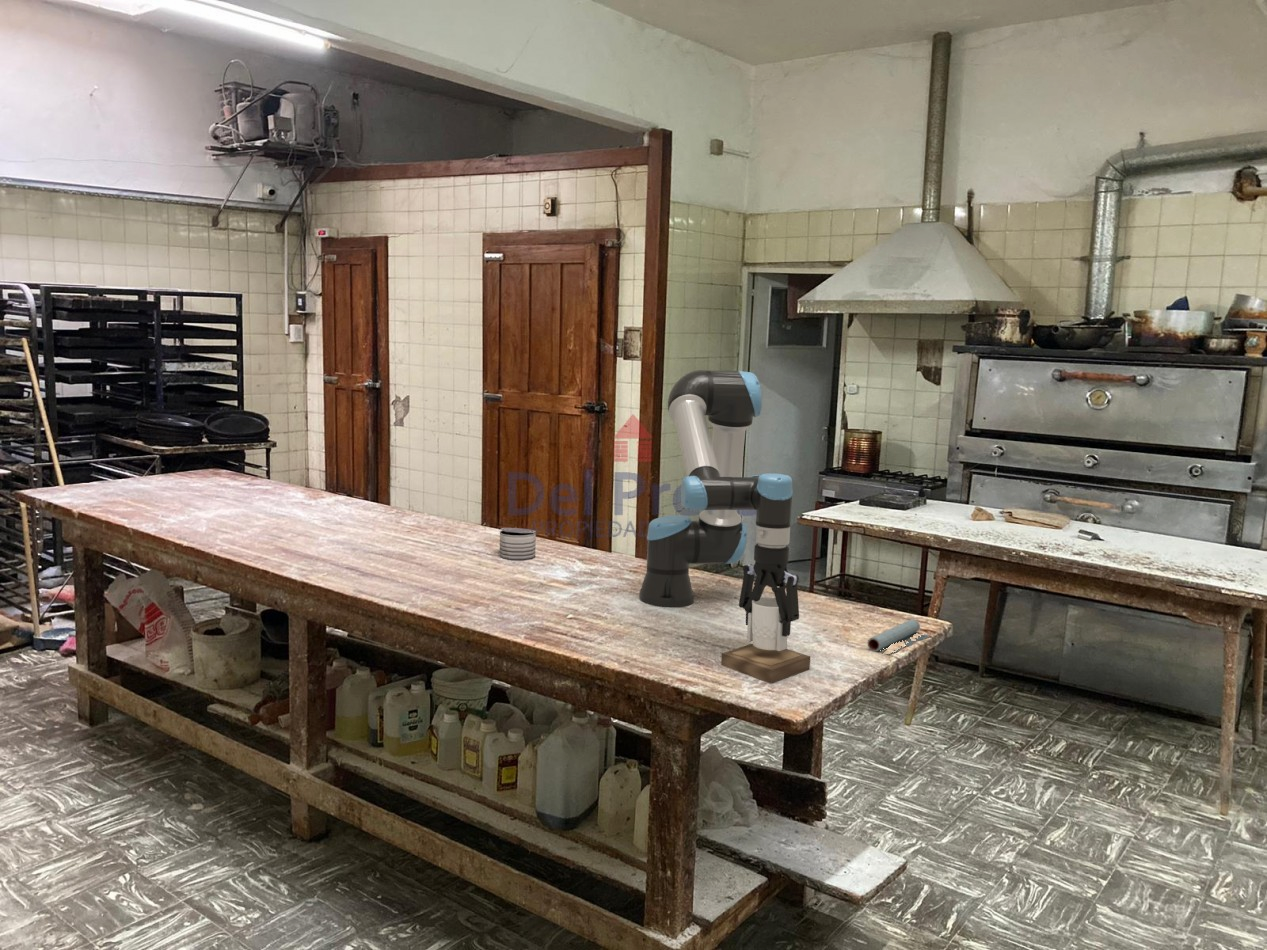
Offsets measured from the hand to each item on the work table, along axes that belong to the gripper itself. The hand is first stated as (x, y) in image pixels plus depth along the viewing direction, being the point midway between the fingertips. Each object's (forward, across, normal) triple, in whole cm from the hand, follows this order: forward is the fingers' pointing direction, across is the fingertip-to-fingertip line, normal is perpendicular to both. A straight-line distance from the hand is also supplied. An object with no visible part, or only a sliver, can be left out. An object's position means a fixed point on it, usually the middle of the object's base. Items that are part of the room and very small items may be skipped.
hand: (766, 644), depth 210 cm
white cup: (0, 0, 0) cm, 1 cm away
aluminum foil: (+6, +9, +42) cm, 44 cm away
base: (+5, 0, 0) cm, 5 cm away
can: (+6, -110, +14) cm, 111 cm away
